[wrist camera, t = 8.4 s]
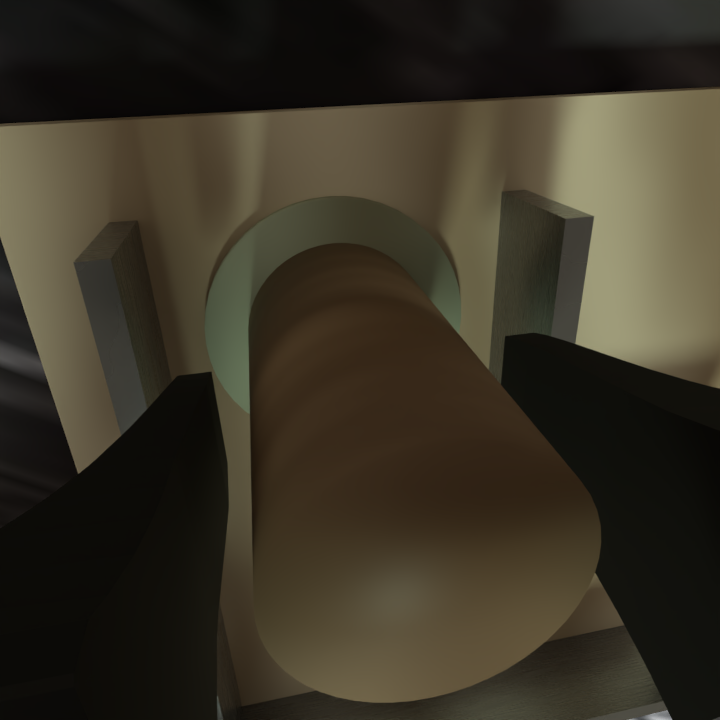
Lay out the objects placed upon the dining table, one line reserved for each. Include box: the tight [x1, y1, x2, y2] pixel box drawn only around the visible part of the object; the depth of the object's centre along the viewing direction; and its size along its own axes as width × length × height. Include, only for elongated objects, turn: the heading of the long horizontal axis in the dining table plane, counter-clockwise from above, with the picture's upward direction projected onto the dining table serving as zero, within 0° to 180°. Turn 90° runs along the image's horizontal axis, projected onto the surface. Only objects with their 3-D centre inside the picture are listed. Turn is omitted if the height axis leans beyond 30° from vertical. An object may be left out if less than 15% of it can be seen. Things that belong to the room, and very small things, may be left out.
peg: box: [248, 243, 601, 703], centre depth 11 cm, size 4×4×8 cm
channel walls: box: [73, 190, 667, 720], centre depth 16 cm, size 16×18×3 cm
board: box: [0, 87, 720, 706], centre depth 18 cm, size 20×22×1 cm
